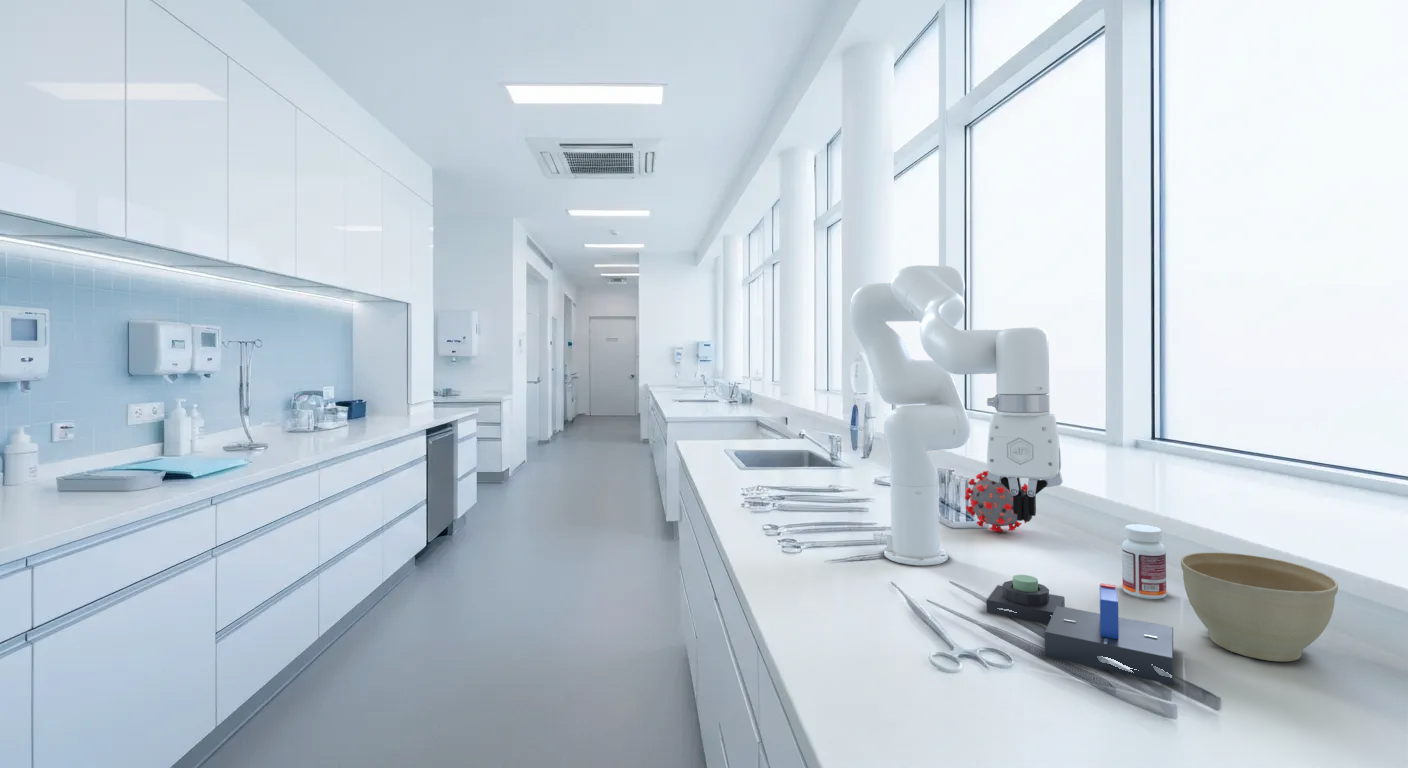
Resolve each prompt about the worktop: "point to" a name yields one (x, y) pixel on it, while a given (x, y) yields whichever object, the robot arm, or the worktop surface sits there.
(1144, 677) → the panel
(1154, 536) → the pill bottle
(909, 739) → the worktop surface
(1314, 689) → the worktop surface
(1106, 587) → the blue flat block
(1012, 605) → the block
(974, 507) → the virus model
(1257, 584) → the planter bowl
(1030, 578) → the button
